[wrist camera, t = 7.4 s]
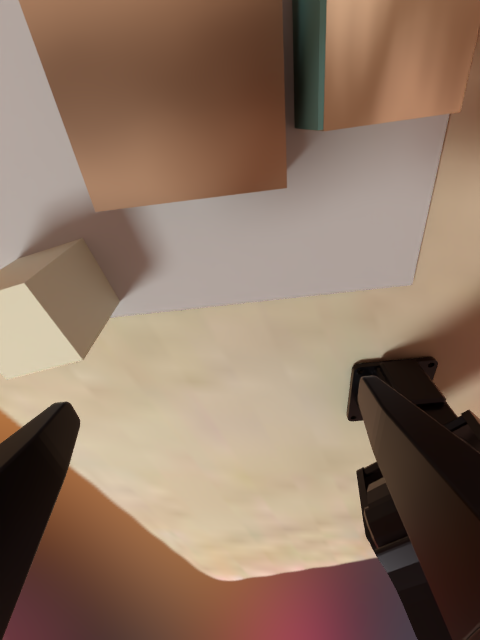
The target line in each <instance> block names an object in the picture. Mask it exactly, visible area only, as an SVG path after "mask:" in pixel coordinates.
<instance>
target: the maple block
mask: <svg viewBox="0 0 480 640" xmlns="http://www.w3.org/2000/svg"><path fill="white" fill-rule="evenodd" d="M292 13H293V68H294V122H295V128H296V129H304V130H314V131H330V130H337V129H344V128H352V127H359V126H366V125H373V124H380V123H387V122H394V121H401V120H408V119H416V118H423V117H430V116H437V115H444V114H451V113H458V112H460V111H461V107H462V102H463V98H464V94H465V89H466V85H467V81H468V76H469V72H470V67H471V63H472V59H473V54H474V50H475V46H476V41H477V37H478V33H479V28H480V0H292Z"/></svg>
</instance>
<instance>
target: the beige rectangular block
mask: <svg viewBox="0 0 480 640" xmlns="http://www.w3.org/2000/svg"><path fill="white" fill-rule="evenodd" d="M119 302H120V300H119V299H118V297H117V295H116V293H115V292H114V290H113V288H112V287H111V285H110V283H109V282H108V280H107V278H106V277H105V275H104V273H103V272H102V270H101V268H100V266H99V265H98V263H97V261H96V260H95V258H94V256H93V255H92V253H91V251H90V250H89V248H88V246H87V244H86V243H85V241H84V239H83V238H81V239H77V240H74V241H71V242H68V243H65V244H62V245H59V246H56V247H53V248H50V249H46V250H43V251H40V252H37V253H34V254H31V255H28V256H25V257H22V258H19V259H16V260H15V261H13V262H12V263H10V264H8V265H7V266H5V267H4V268H2V269H1V270H0V374H1V375H2V376H3V377H4V378H5V379H6V380H9V379H13V378H17V377H21V376H24V375H28V374H32V373H36V372H40V371H44V370H48V369H51V368H55V367H59V366H63V365H67V364H71V363H75V362H78V361H82V360H84V358H85V356H86V355H87V353H88V352H89V350H90V348H91V347H92V345H93V344H94V342H95V341H96V339H97V337H98V336H99V334H100V333H101V331H102V329H103V328H104V326H105V325H106V323H107V321H108V320H109V318H110V317H111V315H112V313H113V312H114V310H115V309H116V307H117V306H118V304H119Z"/></svg>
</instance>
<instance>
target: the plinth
mask: <svg viewBox="0 0 480 640" xmlns="http://www.w3.org/2000/svg"><path fill="white" fill-rule="evenodd" d="M19 3H20V6H21V9H22V11H23V14H24V17H25V20H26V22H27V25H28V28H29V31H30V33H31V36H32V39H33V42H34V44H35V47H36V50H37V53H38V55H39V58H40V61H41V64H42V66H43V69H44V72H45V75H46V77H47V80H48V83H49V86H50V88H51V91H52V94H53V97H54V99H55V102H56V105H57V108H58V110H59V113H60V116H61V119H62V121H63V124H64V127H65V130H66V132H67V135H68V138H69V141H70V143H71V146H72V149H73V152H74V154H75V157H76V160H77V163H78V165H79V168H80V171H81V174H82V176H83V179H84V182H85V185H86V187H87V190H88V193H89V196H90V198H91V201H92V204H93V207H94V209H95V212H100V211H108V210H116V209H124V208H132V207H140V206H148V205H156V204H164V203H172V202H180V201H188V200H196V199H204V198H212V197H220V196H228V195H236V194H244V193H252V192H260V191H268V190H276V189H284V188H287V162H286V124H285V86H284V48H283V10H282V0H19Z"/></svg>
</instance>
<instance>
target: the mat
mask: <svg viewBox="0 0 480 640" xmlns="http://www.w3.org/2000/svg"><path fill="white" fill-rule="evenodd" d="M282 10H283V48H284V86H285V124H286V162H287V188H284V189H276V190H268V191H260V192H252V193H244V194H236V195H228V196H220V197H212V198H204V199H196V200H188V201H180V202H172V203H164V204H156V205H148V206H140V207H132V208H124V209H116V210H108V211H100V212H95V209H94V207H93V204H92V201H91V198H90V196H89V193H88V190H87V187H86V185H85V182H84V179H83V176H82V174H81V171H80V168H79V165H78V163H77V160H76V157H75V154H74V152H73V149H72V146H71V143H70V141H69V138H68V135H67V132H66V130H65V127H64V124H63V121H62V119H61V116H60V113H59V110H58V108H57V105H56V102H55V99H54V97H53V94H52V91H51V88H50V86H49V83H48V80H47V77H46V75H45V72H44V69H43V66H42V64H41V61H40V58H39V55H38V53H37V50H36V47H35V44H34V42H33V39H32V36H31V33H30V31H29V28H28V25H27V22H26V20H25V17H24V14H23V11H22V9H21V6H20V3H19V0H0V270H1V269H2V268H4V267H5V266H7V265H8V264H10V263H12V262H13V261H15V260H16V259H19V258H22V257H25V256H28V255H31V254H34V253H37V252H40V251H43V250H46V249H50V248H53V247H56V246H59V245H62V244H65V243H68V242H71V241H74V240H77V239H81V238H83V239H84V241H85V243H86V244H87V246H88V248H89V250H90V251H91V253H92V255H93V256H94V258H95V260H96V261H97V263H98V265H99V266H100V268H101V270H102V272H103V273H104V275H105V277H106V278H107V280H108V282H109V283H110V285H111V287H112V288H113V290H114V292H115V293H116V295H117V297H118V299H119V300H120V302H119V304H118V306H117V307H116V309H115V310H114V312H113V313H112V315H111V317H110V318H113V317H122V316H131V315H140V314H149V313H158V312H168V311H177V310H186V309H195V308H204V307H214V306H223V305H232V304H241V303H250V302H260V301H269V300H278V299H287V298H296V297H305V296H315V295H324V294H333V293H342V292H351V291H361V290H370V289H379V288H388V287H397V286H407V285H412V283H413V279H414V274H415V270H416V265H417V260H418V256H419V251H420V247H421V242H422V238H423V233H424V229H425V224H426V219H427V215H428V210H429V206H430V201H431V197H432V192H433V188H434V183H435V178H436V174H437V169H438V165H439V160H440V156H441V151H442V146H443V142H444V137H445V133H446V128H447V124H448V119H449V115H450V114H444V115H437V116H430V117H423V118H416V119H408V120H401V121H394V122H387V123H380V124H373V125H366V126H359V127H352V128H344V129H337V130H330V131H314V130H304V129H296V128H295V122H294V68H293V13H292V0H282Z"/></svg>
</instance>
